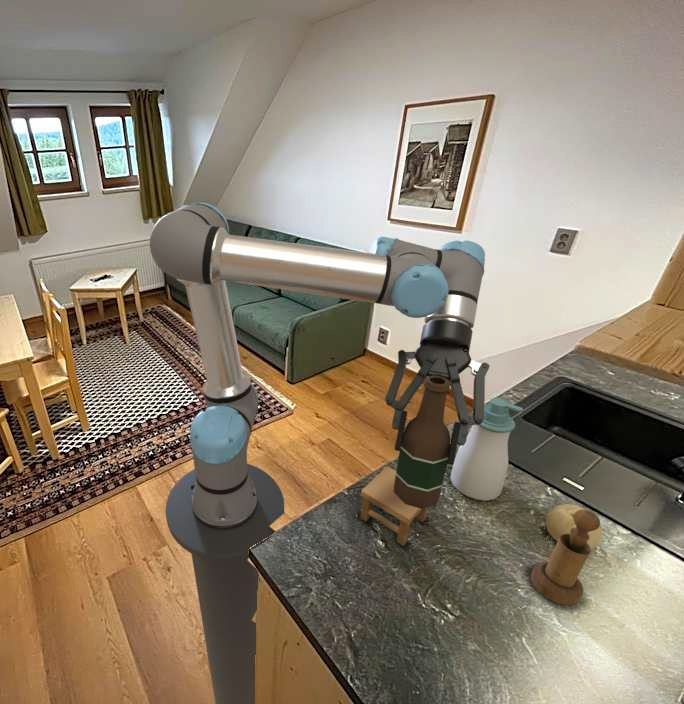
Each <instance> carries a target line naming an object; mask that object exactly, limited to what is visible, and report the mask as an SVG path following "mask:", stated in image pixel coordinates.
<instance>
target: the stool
mask: <svg viewBox="0 0 684 704" xmlns="http://www.w3.org/2000/svg"><path fill="white" fill-rule="evenodd" d="M395 477H396V470H395V469H393V468H391V467H389V466H387V465H386V466H385V467H384V468H383V469H382V470H381V471H380V472H379V473H378V474H377V475H375V476H374V478H373V479H372V480H371V481H370V482H369V483H368V484H367V485H366V486H364V488H362V490H361V491H360V497H362V501H361V508H360V515H359V519H361V520H362V521H364V522H368V521H369V519H370V518H372V519H374V520H376V521H377V522H379V523H381V524H382V525H383V526H385V527H387V528H389V529H390V530H392V531H393V532H395V533H397V537H396V543H398V544H399V545H401V546H402V547H404V546H405V545H406V544H407V542H408V537H409V534H410V533H409V532H410V528H411V524H412V522H413V521H414V519H415V520H417V521H419V522H420V523H424V521H425V520H426V518H427V514H428V510H429V507H427V508H424V509H420V508H417V507H413V506H410V505H407V504H405V503H404V502H403V501H402V500H401V499H400V498H399V497H398V496H397V495H396V494H395V493H394V483H395ZM372 504H373V505H375V506H377V507H379V508H380V509H381V510H383V511H385V512H386V513H388V514H389V515H391V516H393V517H395V518H396V519H398V520H399V525H396V524H395V523H394V522H392V521H390V520H389V519H387V518H385V517H384V516H382V515H380V514H379V513H378V512H376V511H374V510H373V509H372Z"/></svg>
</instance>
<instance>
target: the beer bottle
mask: <svg viewBox="0 0 684 704" xmlns="http://www.w3.org/2000/svg"><path fill="white" fill-rule="evenodd" d="M423 387H424V390H423V394H422V397H421V400H420V401H421V402H420V405H419V408H418V412H417V413H416V416H415V417H413V418H411V419H410V420H409V421H408V422H407V424H405V428H404V433H403V438H402V443H401V448H400V451H398V452H399V454H398V460H397V466H396V470H395V471H396V477H395V483H394V493H395V494H396V495H397V496H398V497H399V498H400V499H401V500H402V501H403V502H404V503H405V504H407V505H410V506H413V507H417V508H420V509H424V508H427V507H428V508H430V507H433V506H436V505H437V504H438V502H439V500H440V496H441V492H442V487H443V484H444V480H445V475H446V471H447V467H448V464H447V459H448V454H449V450H450V442H451V435H450V431H449V428H448V427H447V425H446V424H445V421H444V415H445V410H446V400H447V395H448V394H447V393H448V392H449V391H451V387H450V383H449V380H447V379H445V378H444V377H440V376H434V375H433V376H429V377H428V376H427V378H426V379H425V381H424V382H423Z"/></svg>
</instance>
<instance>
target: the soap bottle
mask: <svg viewBox="0 0 684 704" xmlns="http://www.w3.org/2000/svg"><path fill="white" fill-rule="evenodd" d="M510 410H511V411H515V412H517V413H520V412H522V411H523V410H524V407H522V406H521V407H520V406H518V405H514V404H511V403H508V401H507V400H505V399H503V398H500V397H492V398H490V399H489V402H488V403H487V404H484V421H483V422H482V423H481V424H480V425H471V428H470V431H469V432H468V434H467V440H466V443H465V444H464V445H463V446H462V445H459V447H458V450H457V452H456V454H455V460H454V464H453V465H452V468H451V473H450V481H451V483H452V486H454V488H455V489H456V490H457V491H458V492H459V493H461V494H462V495H464V496H466V497H468V498H470V499H473V500H477V501H484V502H486V501H487V502H488V501H492V500H496V499H497V498H498V497H500V495H501V494H502V491H503V488H504V486H505V483H506V478H507V473H508V468H509V446H508V445H509V444H508V443H509V437H510V434H511V433H512V431H513V430H514V429H516V422H515V421H514V419H513V418H512V417H511V416H510V414H511V412H510Z"/></svg>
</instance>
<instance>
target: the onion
mask: <svg viewBox="0 0 684 704" xmlns="http://www.w3.org/2000/svg"><path fill="white" fill-rule="evenodd" d="M583 509H584V510H587V509H586V508H583V507H582V506H578V505H576V504H572V503H562V504H558V505H555V506H554V507H552V508H551V509H550V510H549V511H548V513H547V515H546V517H545V522H544V523H545V527H546V530H547V532H548V533H549V534H550V536H551V537H552V538H553V539H554V540H555V541H556V542H558V540H559V537H560V536H561V535H562V534H570V530H571V529H572V528H576V525H575V522H574V519H573V516H574V514H575V512H577V511H578V510H583ZM588 535H589V537H590V538H589V540H588V541H587V543H588V545H589V546H590V548H591V550H593V549H594V548H597V547H598V545H599V544H600V542H601V540H602V537H603V529H602V526H601V524H600V526H599V528H598V529H596V530H594V531H590V532H588Z"/></svg>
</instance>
